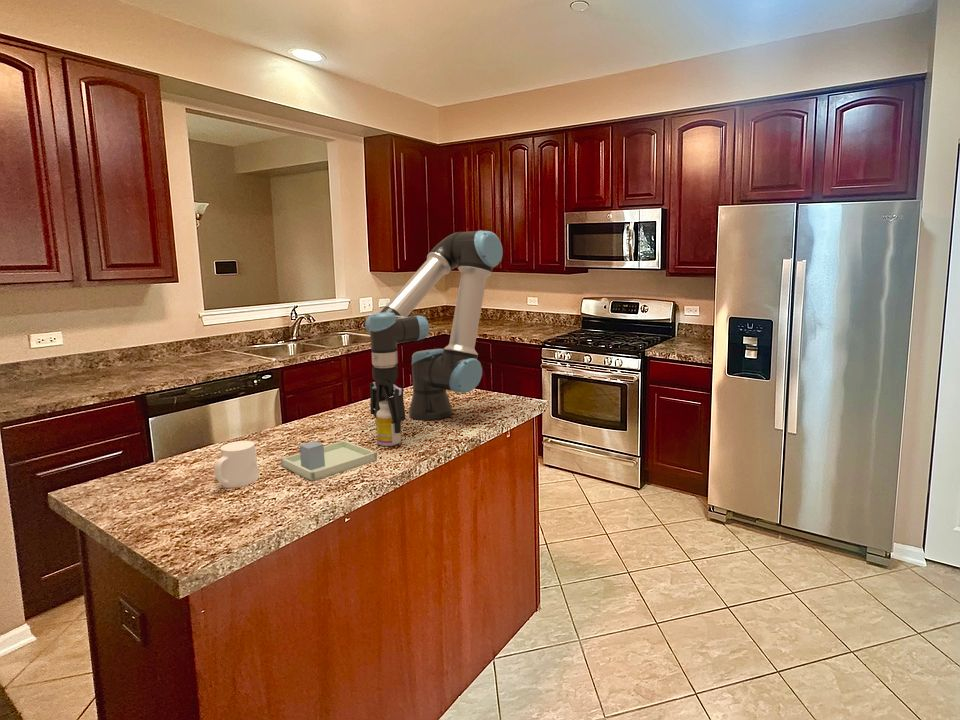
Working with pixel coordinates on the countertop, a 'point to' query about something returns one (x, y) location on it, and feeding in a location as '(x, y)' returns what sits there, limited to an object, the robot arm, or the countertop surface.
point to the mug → (237, 464)
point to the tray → (332, 460)
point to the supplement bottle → (384, 424)
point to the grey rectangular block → (312, 455)
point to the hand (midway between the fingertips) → (388, 440)
